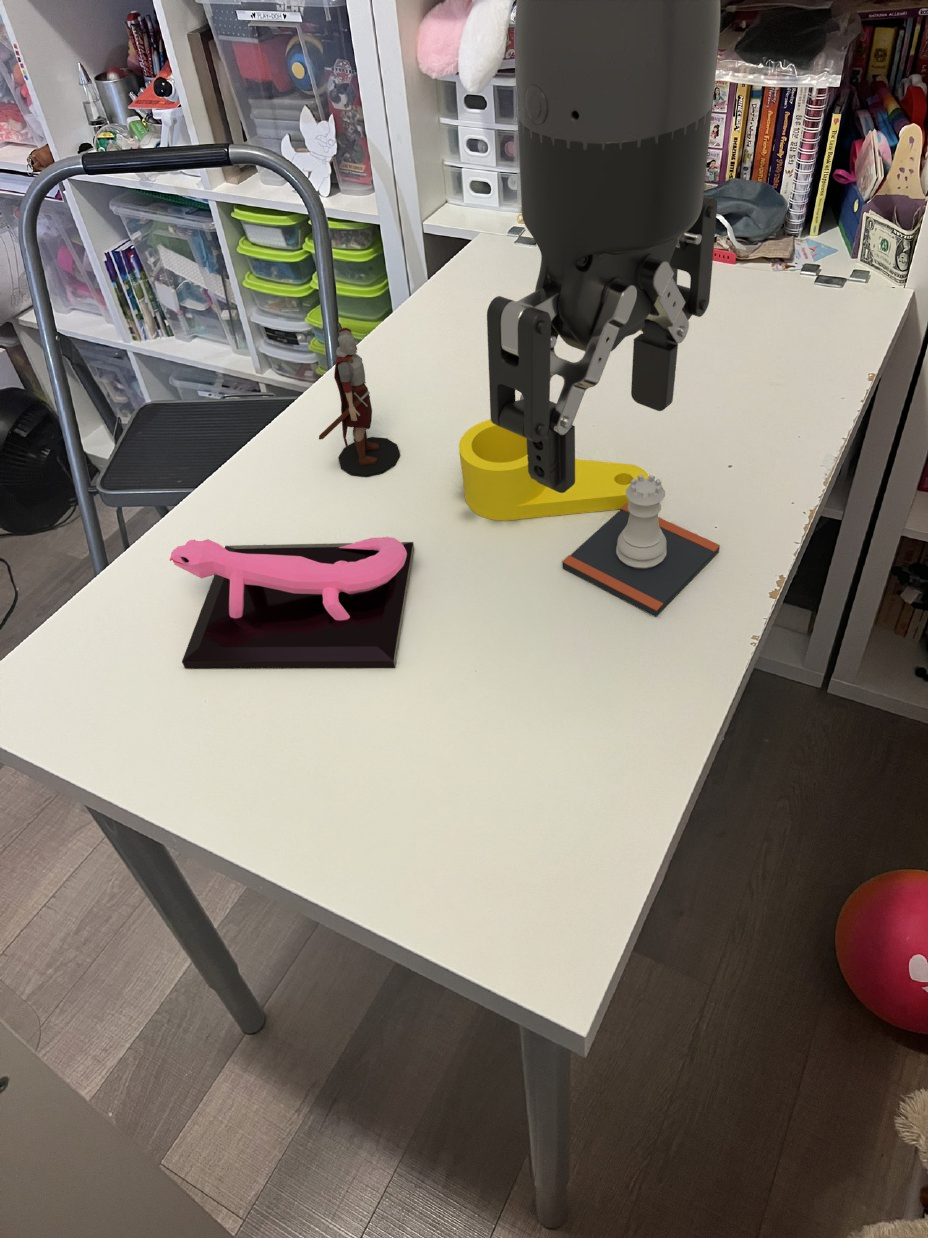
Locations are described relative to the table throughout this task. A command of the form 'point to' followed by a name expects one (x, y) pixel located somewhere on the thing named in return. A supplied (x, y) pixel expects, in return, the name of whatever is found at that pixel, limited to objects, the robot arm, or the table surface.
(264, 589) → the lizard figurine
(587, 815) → the table surface
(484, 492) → the crank
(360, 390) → the figurine
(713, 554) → the mat
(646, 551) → the rook chess piece
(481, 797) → the table surface
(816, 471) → the table surface
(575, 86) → the robot arm
